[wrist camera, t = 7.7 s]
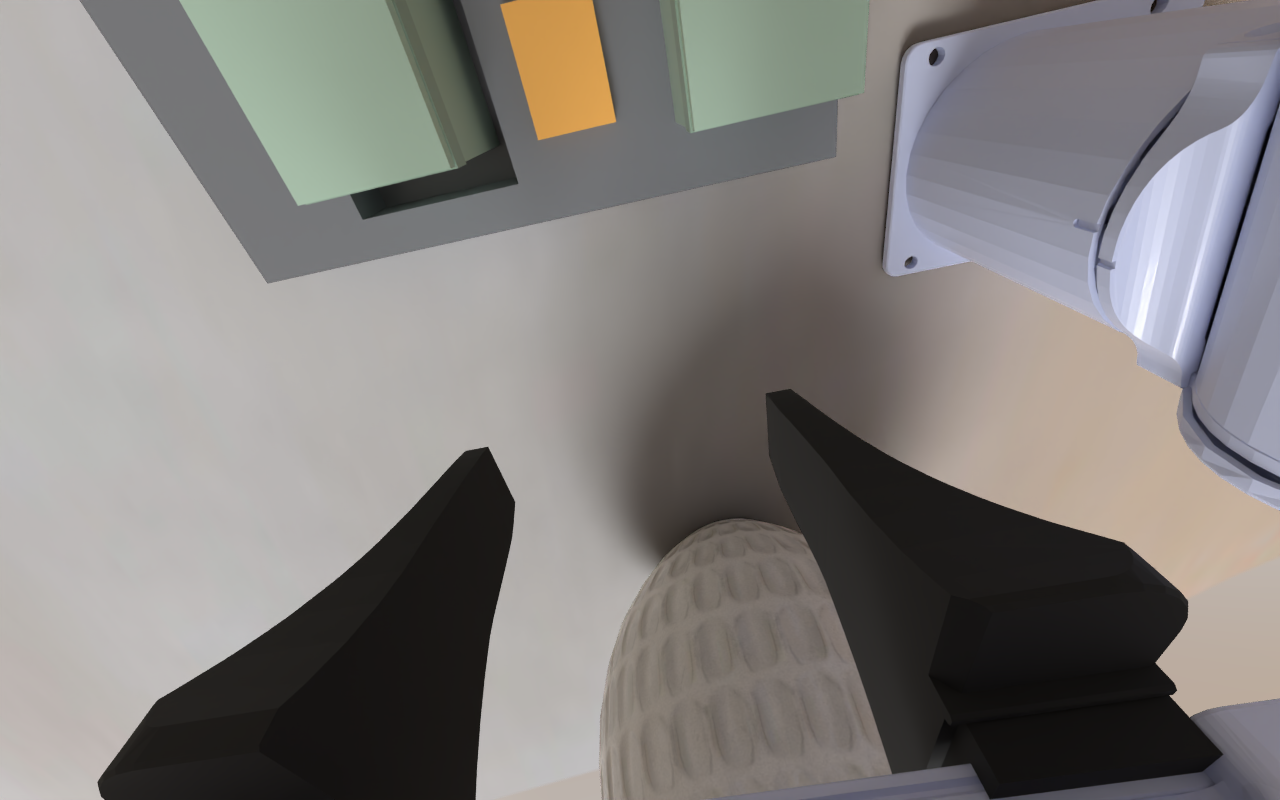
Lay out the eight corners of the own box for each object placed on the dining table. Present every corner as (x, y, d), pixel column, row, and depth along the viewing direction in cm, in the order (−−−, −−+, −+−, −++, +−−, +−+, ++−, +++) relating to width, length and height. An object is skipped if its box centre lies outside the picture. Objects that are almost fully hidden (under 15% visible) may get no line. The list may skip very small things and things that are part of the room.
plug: (452, -5, 14) (365, -57, 9) (501, 145, 16) (453, 170, 11) (326, 29, 14) (174, -3, 9) (391, 172, 17) (297, 208, 12)
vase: (600, 628, 34) (586, 1281, 15) (606, 455, 25) (592, 1506, 6) (817, 626, 35) (1047, 1225, 17) (896, 460, 26) (1581, 1349, 8)
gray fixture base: (810, -171, 13) (952, -358, 8) (809, 148, 17) (898, 175, 12) (152, 6, 14) (-126, -44, 9) (305, 262, 19) (181, 331, 13)
